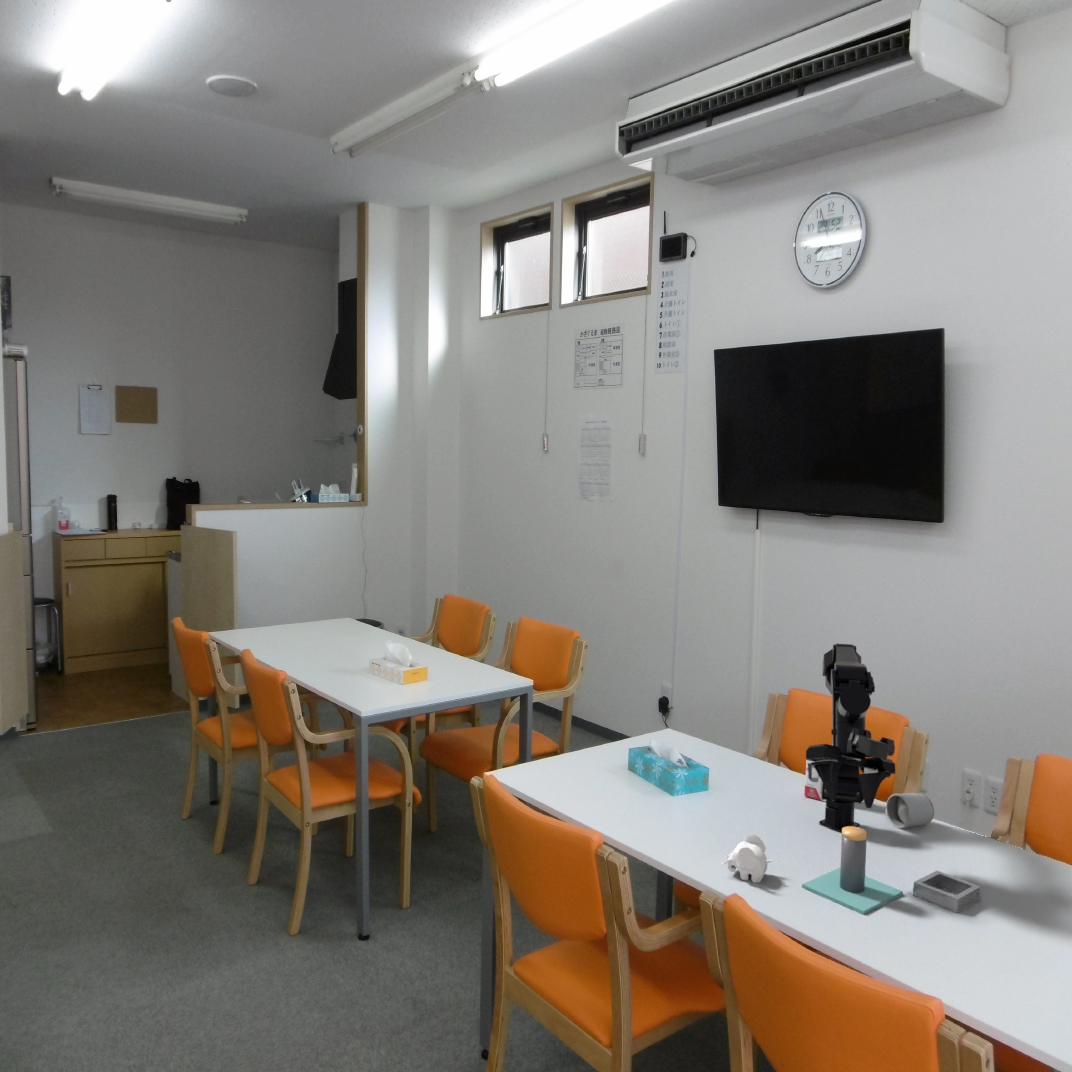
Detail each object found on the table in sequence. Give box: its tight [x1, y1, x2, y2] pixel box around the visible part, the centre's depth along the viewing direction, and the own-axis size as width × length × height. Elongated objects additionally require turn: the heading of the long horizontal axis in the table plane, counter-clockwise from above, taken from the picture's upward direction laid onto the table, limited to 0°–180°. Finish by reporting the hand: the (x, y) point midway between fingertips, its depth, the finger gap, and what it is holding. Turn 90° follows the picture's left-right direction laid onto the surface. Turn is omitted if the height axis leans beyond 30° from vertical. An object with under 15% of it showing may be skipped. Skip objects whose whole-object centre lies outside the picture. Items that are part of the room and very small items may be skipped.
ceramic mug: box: [884, 792, 935, 829], centre depth 205 cm, size 10×8×7 cm
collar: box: [912, 870, 981, 914], centre depth 169 cm, size 8×8×2 cm
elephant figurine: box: [721, 834, 773, 884], centre depth 176 cm, size 8×10×7 cm
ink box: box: [803, 759, 826, 802], centre depth 219 cm, size 9×5×12 cm, turn 50°
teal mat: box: [801, 866, 904, 915], centre depth 171 cm, size 13×13×1 cm
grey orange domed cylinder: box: [840, 826, 868, 893], centre depth 170 cm, size 4×4×11 cm
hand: (851, 804), depth 178 cm, fingers open, 9 cm apart
